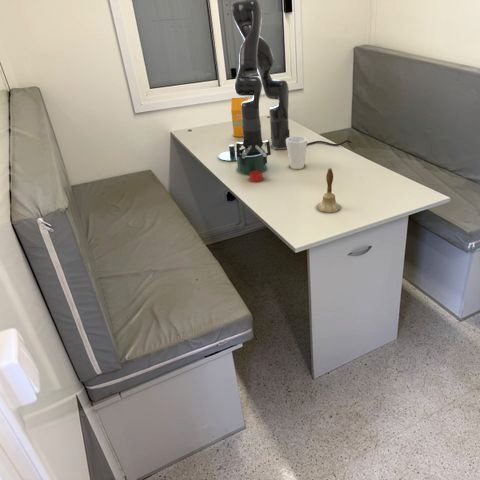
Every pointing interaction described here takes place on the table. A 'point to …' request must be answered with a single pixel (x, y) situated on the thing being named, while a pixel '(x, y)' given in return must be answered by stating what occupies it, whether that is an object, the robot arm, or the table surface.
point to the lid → (229, 155)
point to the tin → (251, 162)
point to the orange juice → (237, 115)
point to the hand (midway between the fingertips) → (254, 165)
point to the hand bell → (329, 196)
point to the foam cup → (296, 151)
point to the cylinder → (256, 176)
